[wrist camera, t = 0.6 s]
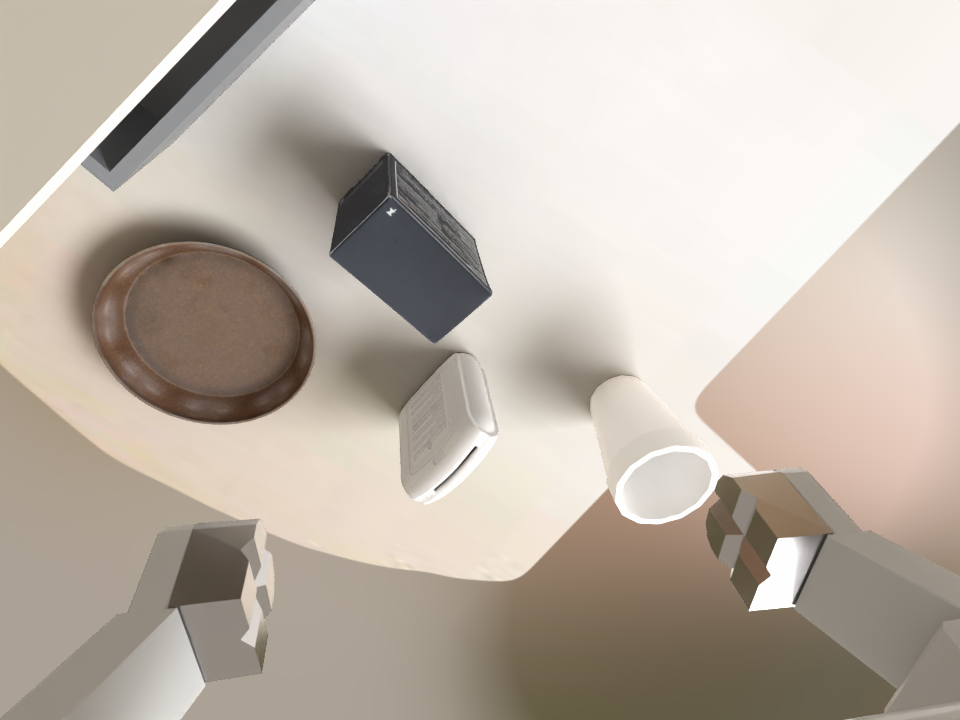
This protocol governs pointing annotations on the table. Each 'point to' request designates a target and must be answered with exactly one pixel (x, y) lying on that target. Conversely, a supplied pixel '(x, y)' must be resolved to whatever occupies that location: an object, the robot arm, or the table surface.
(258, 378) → the plant saucer
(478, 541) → the table surface
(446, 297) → the small box
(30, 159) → the lid flap
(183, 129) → the carton
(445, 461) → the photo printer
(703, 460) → the foam cup
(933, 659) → the robot arm
